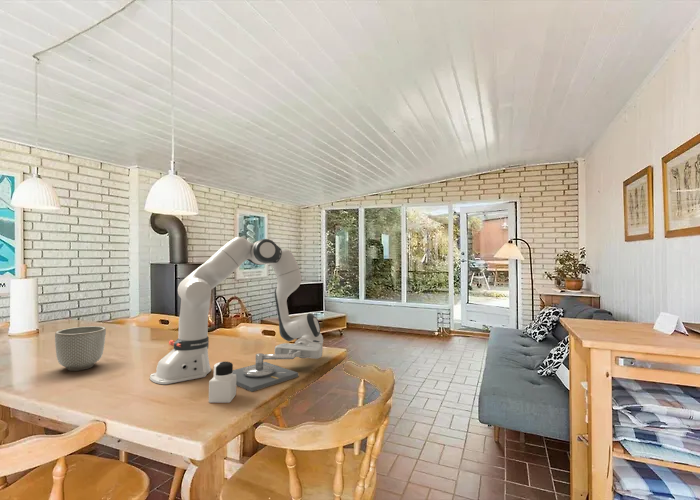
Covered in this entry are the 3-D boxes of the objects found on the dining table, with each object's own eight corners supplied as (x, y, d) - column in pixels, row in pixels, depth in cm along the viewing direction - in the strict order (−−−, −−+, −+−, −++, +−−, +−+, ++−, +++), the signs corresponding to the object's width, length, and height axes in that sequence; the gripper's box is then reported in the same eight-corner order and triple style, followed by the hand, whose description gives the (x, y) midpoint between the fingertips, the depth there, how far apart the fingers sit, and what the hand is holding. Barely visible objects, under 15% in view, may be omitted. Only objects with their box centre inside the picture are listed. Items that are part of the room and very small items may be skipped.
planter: (114, 363, 158) (115, 327, 158) (75, 376, 142) (76, 335, 142) (84, 360, 163) (85, 324, 163) (43, 372, 146) (44, 332, 146)
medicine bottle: (236, 394, 125) (236, 360, 125) (230, 403, 118) (230, 366, 118) (215, 394, 125) (216, 359, 125) (208, 403, 118) (208, 366, 118)
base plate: (251, 391, 128) (251, 387, 128) (219, 377, 142) (219, 373, 142) (298, 376, 144) (298, 372, 145) (265, 365, 159) (265, 361, 159)
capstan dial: (240, 377, 137) (240, 358, 137) (247, 368, 149) (247, 350, 149) (293, 377, 138) (293, 358, 139) (295, 367, 150) (296, 350, 151)
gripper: (282, 338, 162) (267, 345, 149) (325, 342, 157) (314, 349, 143) (282, 352, 162) (267, 361, 149) (325, 356, 157) (313, 365, 143)
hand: (290, 355), depth 146 cm, fingers closed
